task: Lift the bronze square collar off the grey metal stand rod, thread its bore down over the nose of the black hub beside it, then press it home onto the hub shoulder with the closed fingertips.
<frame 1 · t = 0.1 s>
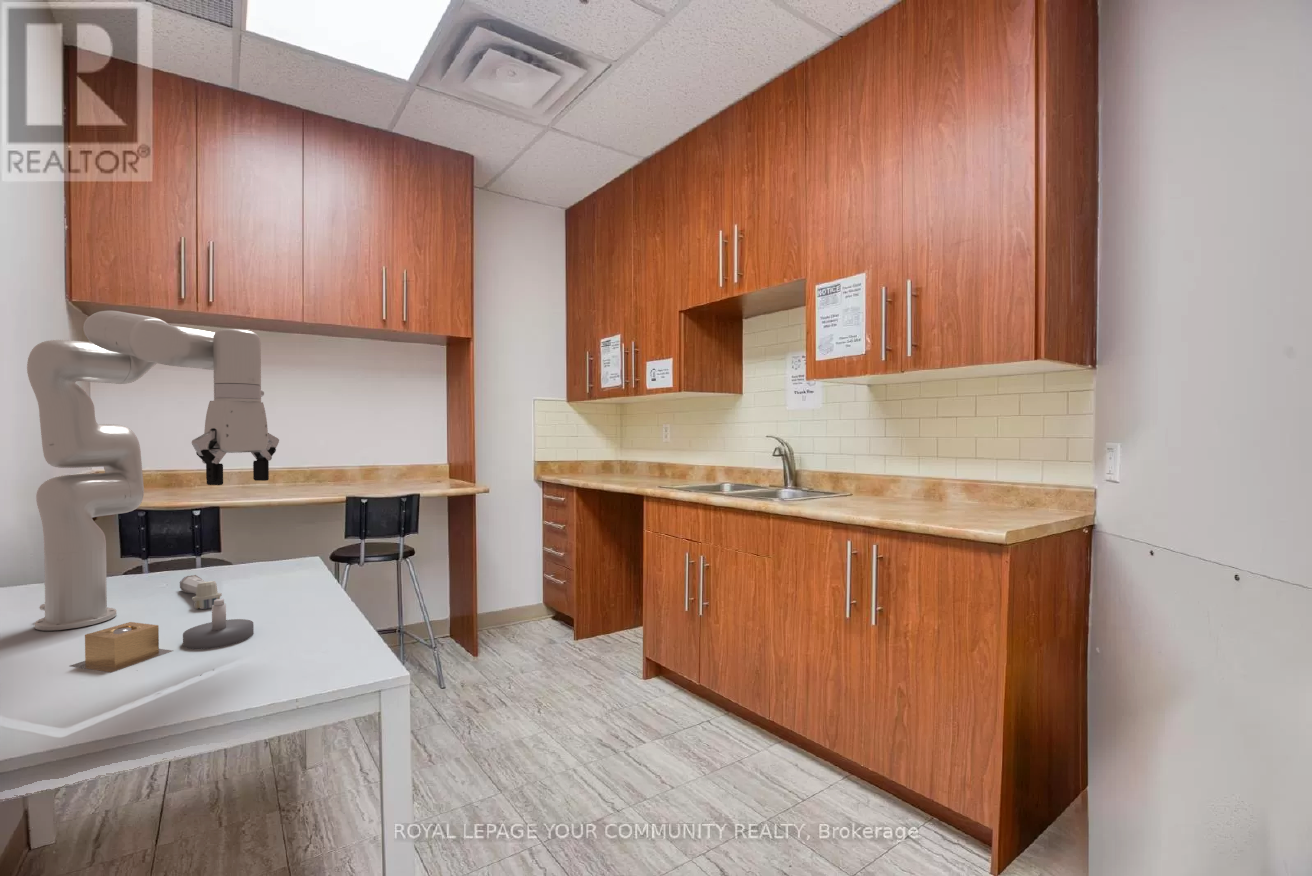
hand: (238, 482, 116), 31 cm above the table, tool pointing down, fingers open, 9 cm apart
stand: (123, 663, 105), on the table
hub: (219, 643, 115), on the table
collar: (122, 658, 105), point 1 cm above the table, touching stand
toothbrush head: (198, 600, 145), on the table
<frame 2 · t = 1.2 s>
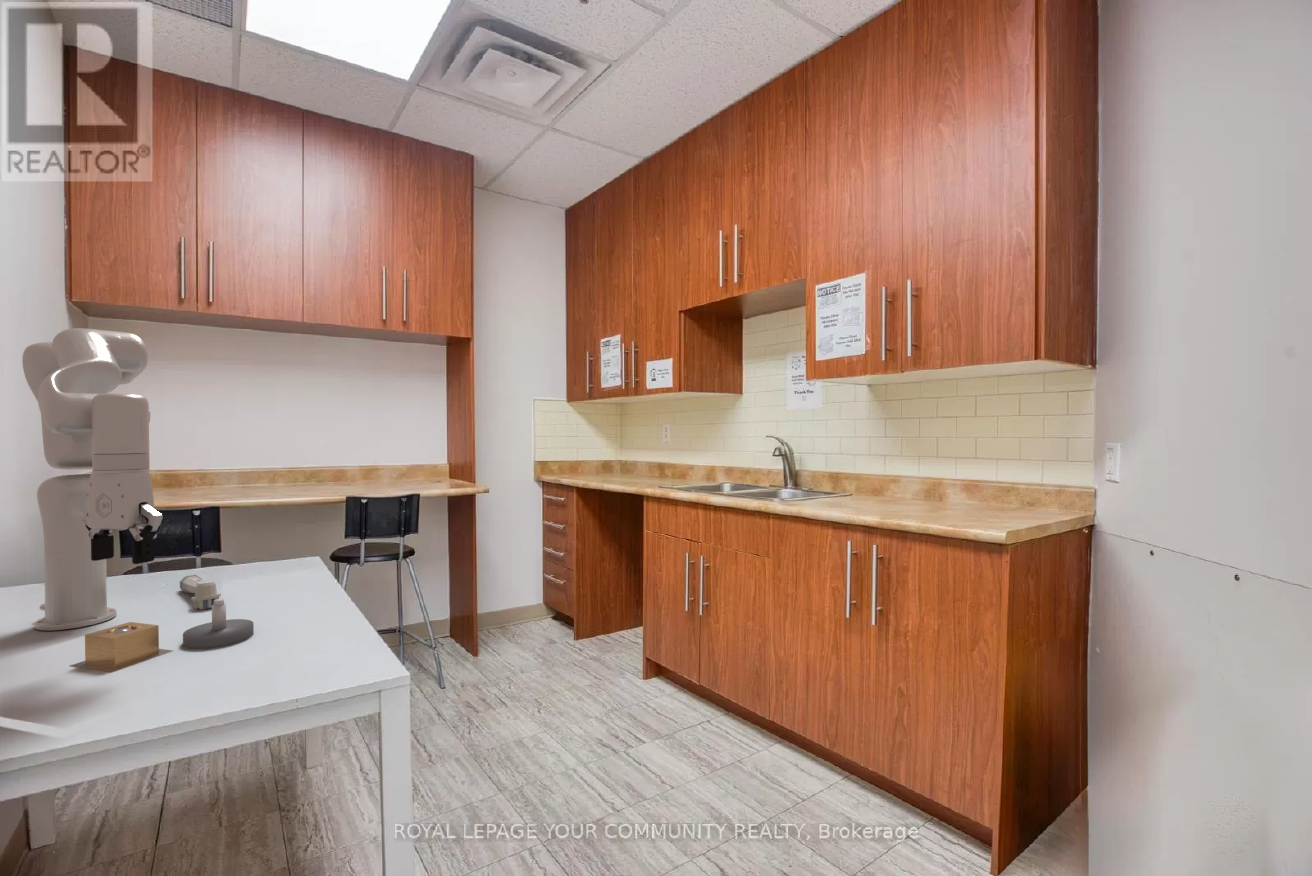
hand: (122, 560, 105), 18 cm above the table, tool pointing down, fingers open, 9 cm apart
nothing on the table moved.
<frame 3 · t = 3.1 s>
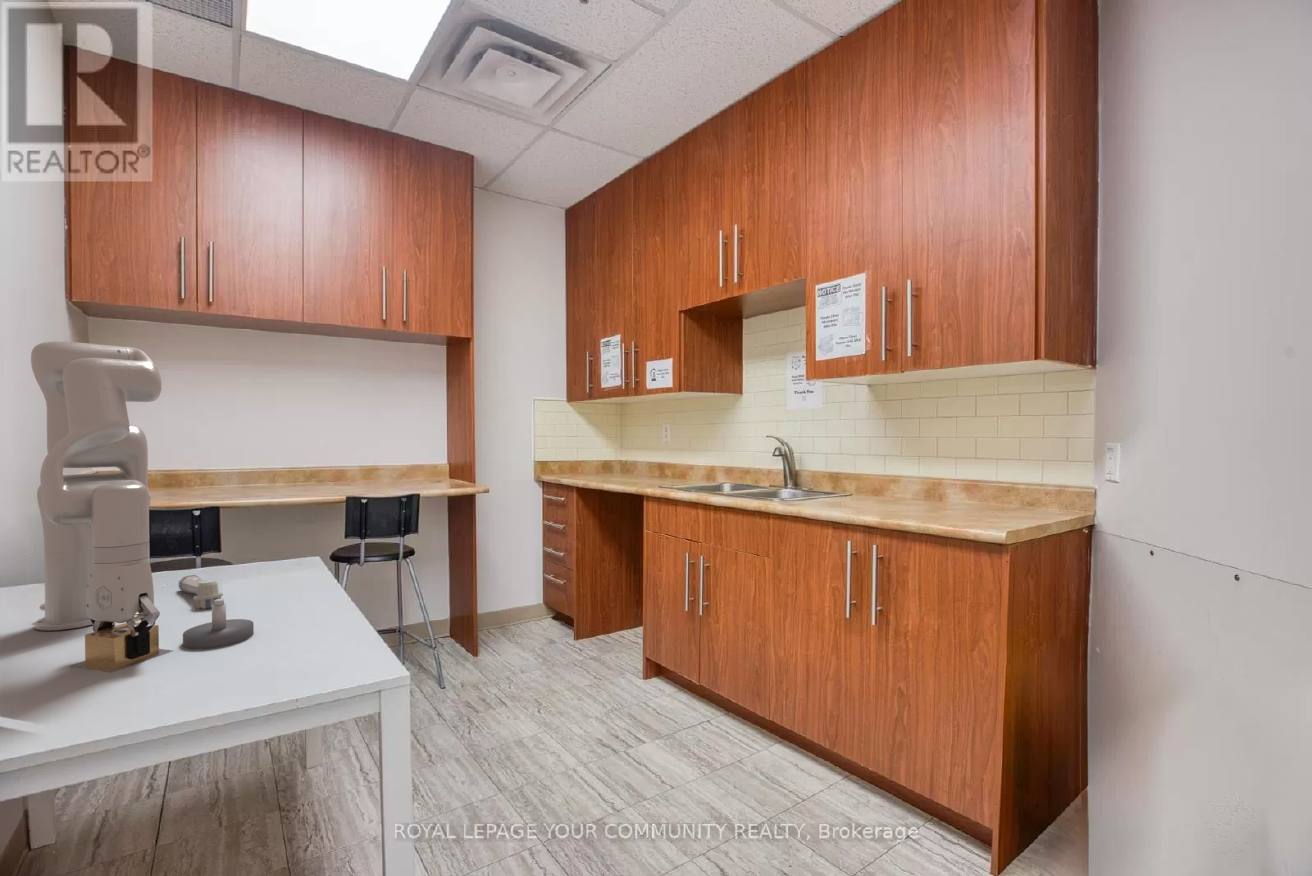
hand: (122, 653, 105), 2 cm above the table, tool pointing down, fingers closed on collar, 7 cm apart
collar: (122, 658, 105), point 1 cm above the table, touching gripper, stand
everything else where it was.
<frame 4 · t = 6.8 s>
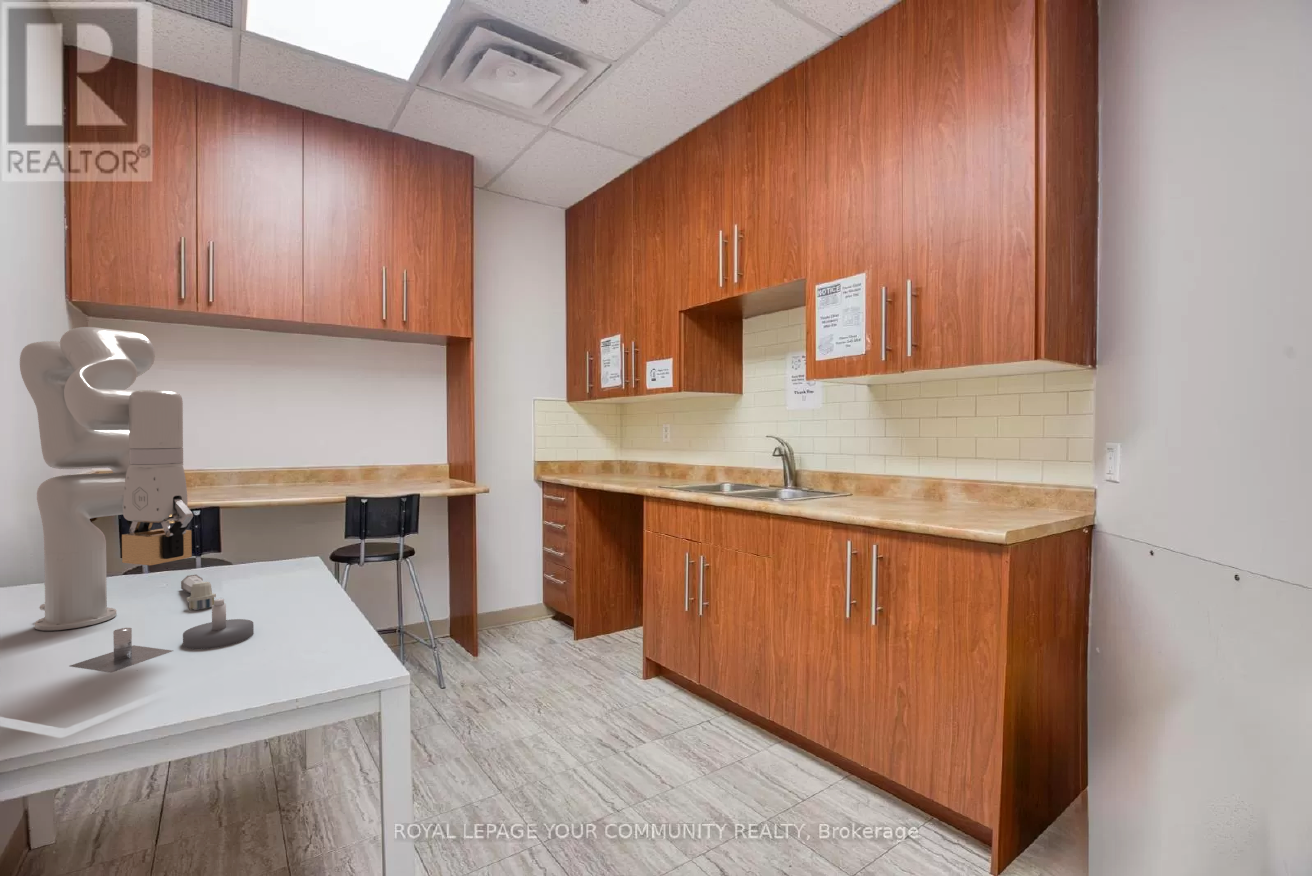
hand: (157, 555, 108), 19 cm above the table, tool pointing down, fingers closed on collar, 7 cm apart
collar: (157, 559, 108), point 18 cm above the table, touching gripper
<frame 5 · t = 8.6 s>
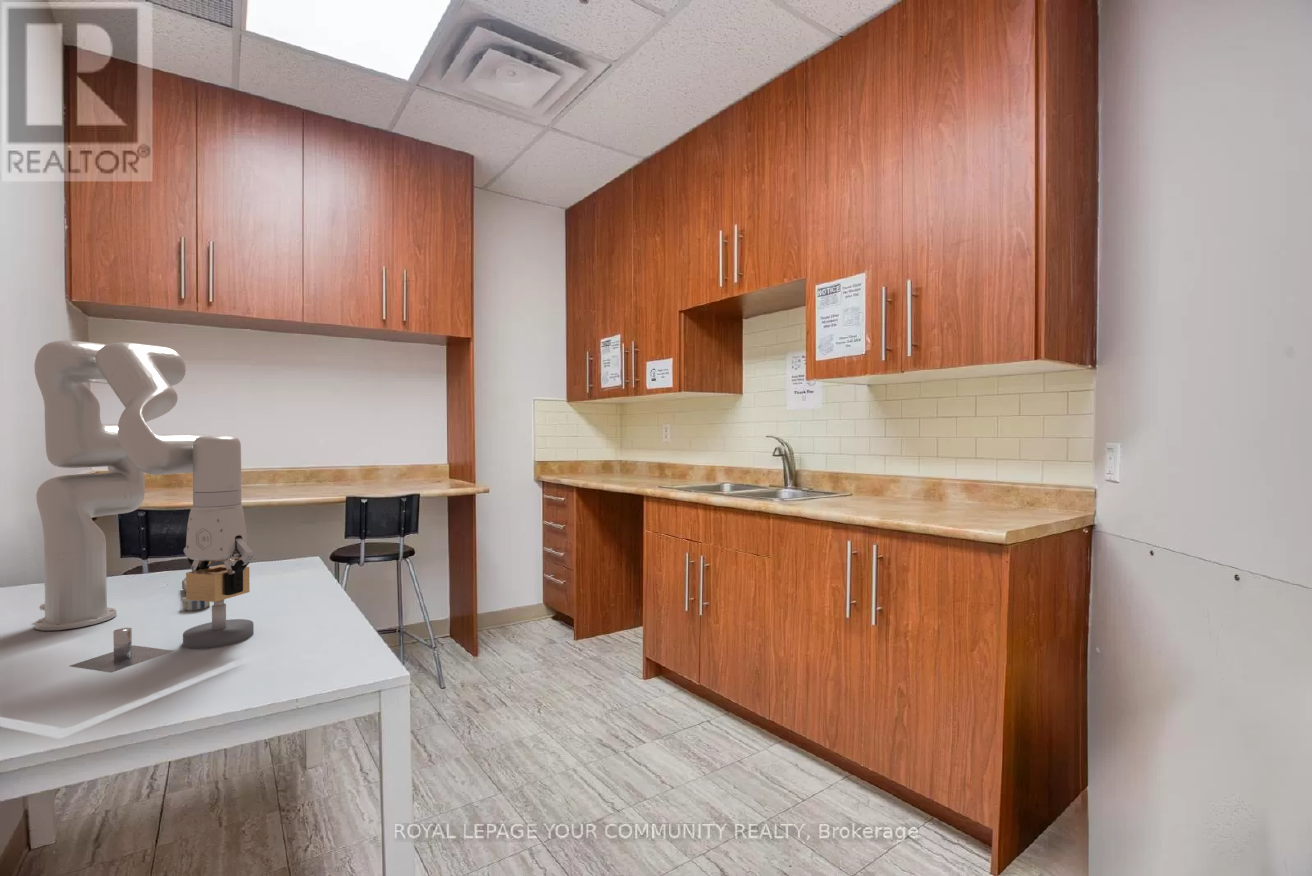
hand: (218, 591, 115), 10 cm above the table, tool pointing down, fingers closed on collar, 7 cm apart
collar: (218, 595, 115), point 9 cm above the table, touching gripper
when the fingers open (5 cm above the table, at t = 10.3 s): collar stays where it is, resting on hub.
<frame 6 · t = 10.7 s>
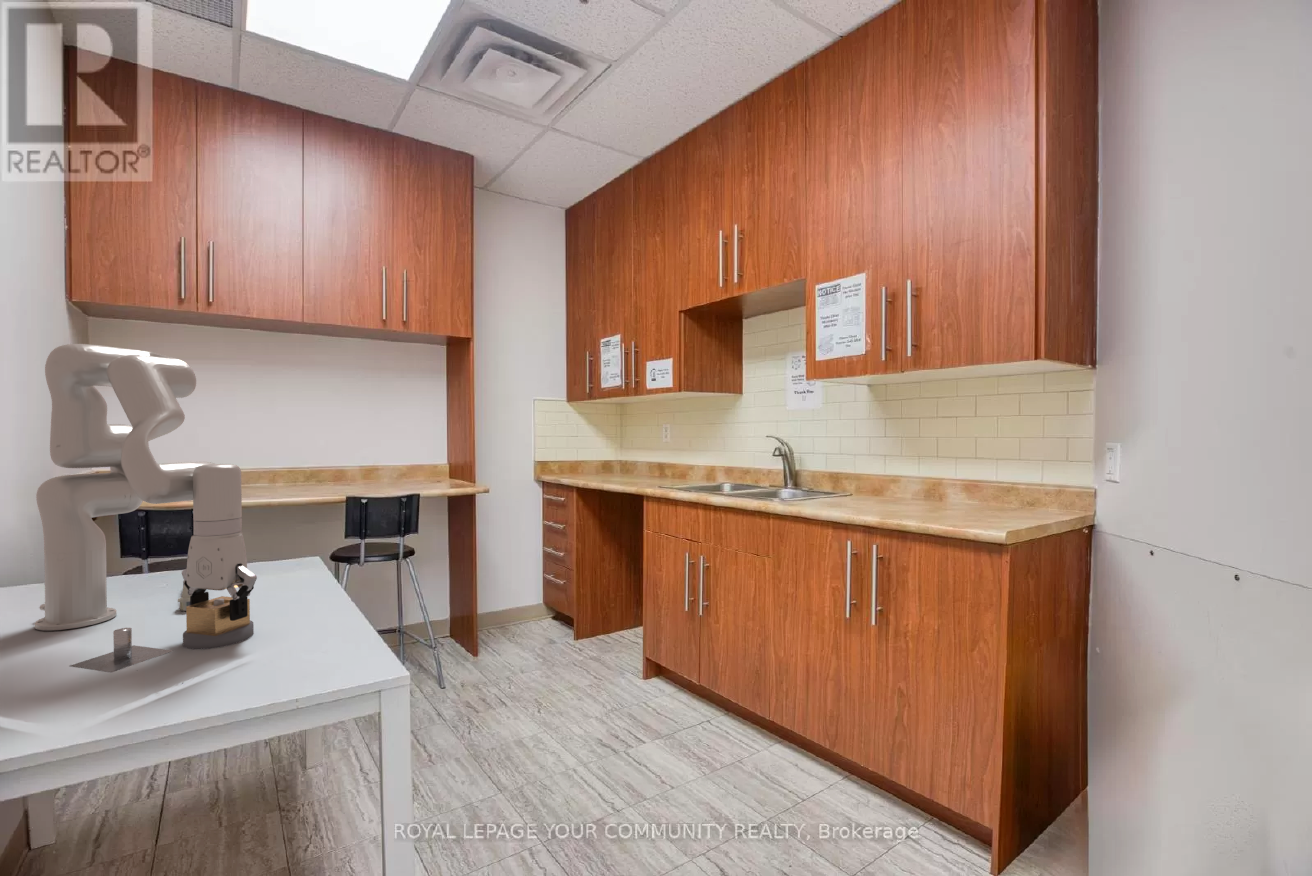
hand: (219, 616, 115), 5 cm above the table, tool pointing down, fingers open, 9 cm apart
collar: (218, 628, 115), point 3 cm above the table, touching hub
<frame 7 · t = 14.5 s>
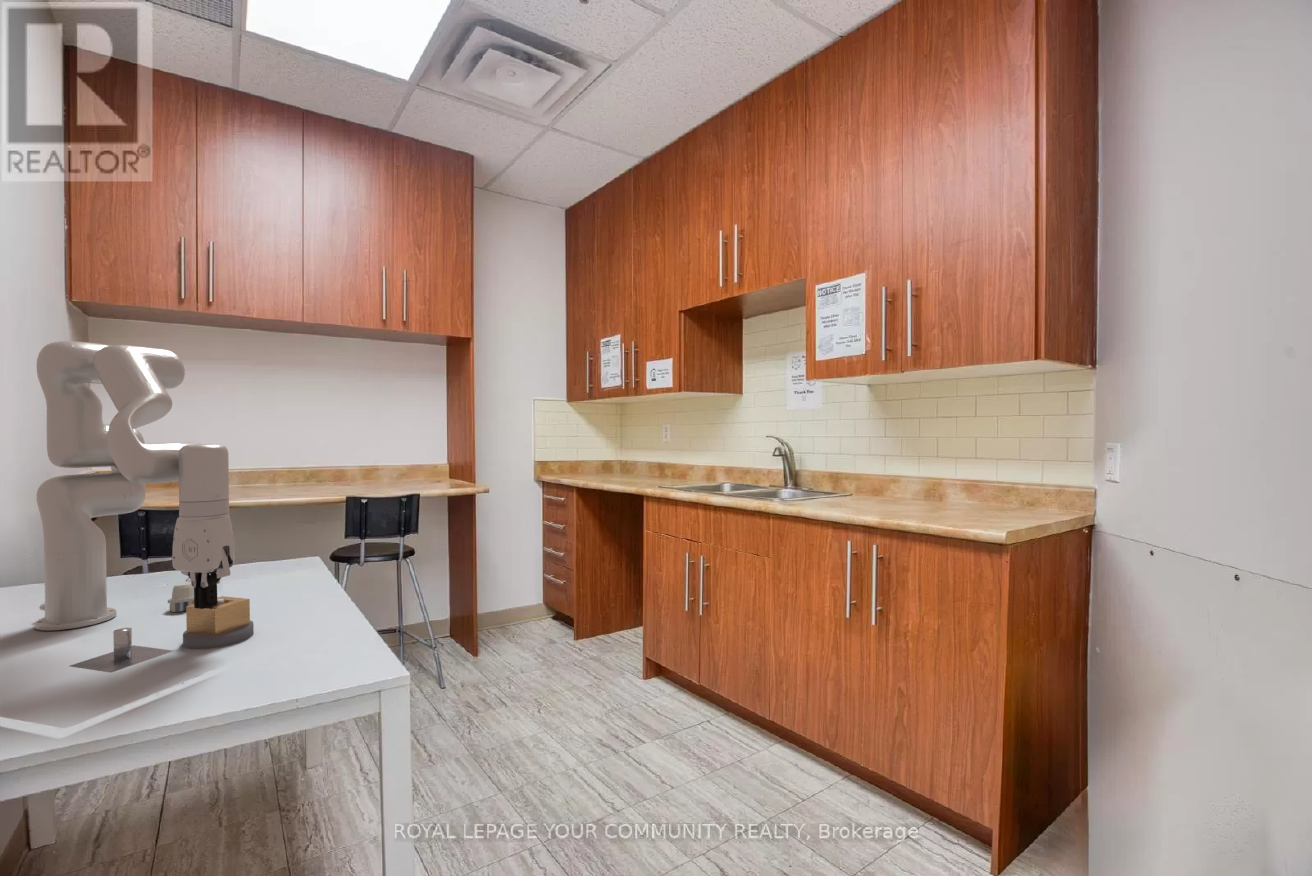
hand: (205, 606, 112), 8 cm above the table, tool pointing down, fingers closed
collar: (218, 628, 115), point 3 cm above the table, touching gripper, hub
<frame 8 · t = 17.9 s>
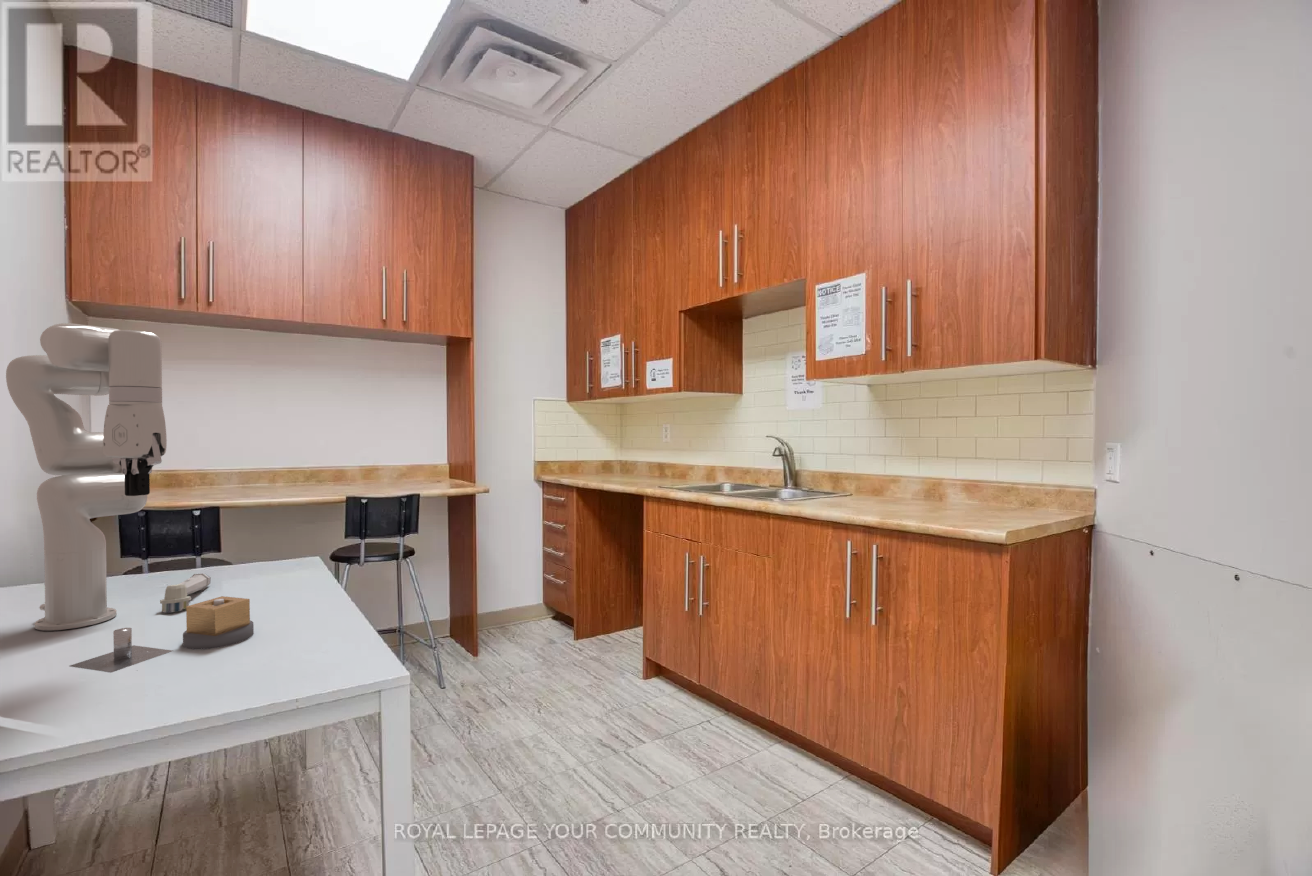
hand: (137, 494, 112), 29 cm above the table, tool pointing down, fingers closed
collar: (218, 628, 115), point 3 cm above the table, touching hub
at the end: collar 0.1 cm from the hub (horizontally); collar 0.0 cm off-centre on the hub, point 3.0 cm above the hub's base; collar tilted 0° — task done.
